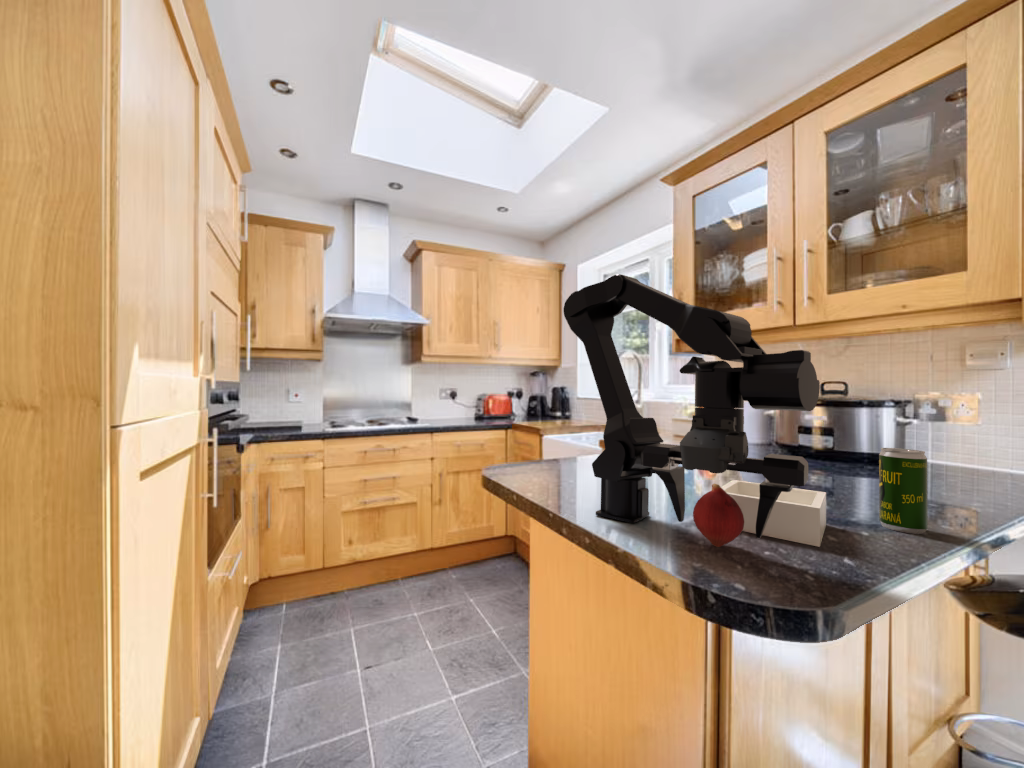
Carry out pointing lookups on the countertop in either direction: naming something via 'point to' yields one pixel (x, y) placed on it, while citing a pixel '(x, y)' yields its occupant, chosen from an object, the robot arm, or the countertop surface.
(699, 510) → the onion
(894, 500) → the green soda can
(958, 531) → the countertop surface
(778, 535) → the bin
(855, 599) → the countertop surface
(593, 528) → the countertop surface
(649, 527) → the countertop surface
